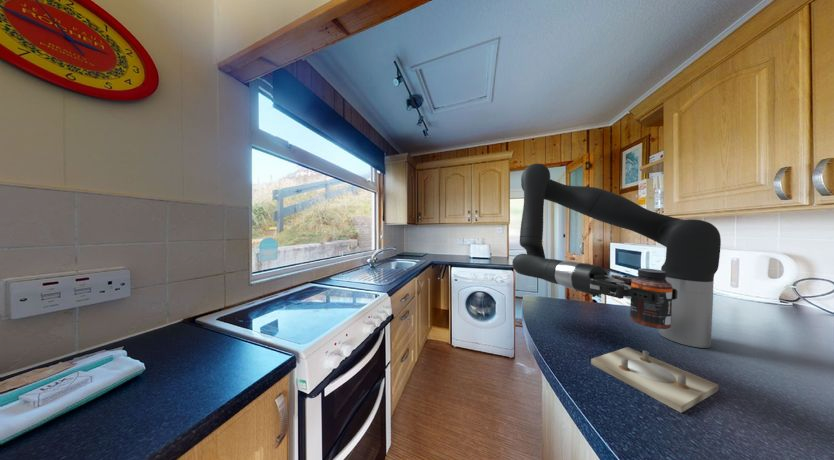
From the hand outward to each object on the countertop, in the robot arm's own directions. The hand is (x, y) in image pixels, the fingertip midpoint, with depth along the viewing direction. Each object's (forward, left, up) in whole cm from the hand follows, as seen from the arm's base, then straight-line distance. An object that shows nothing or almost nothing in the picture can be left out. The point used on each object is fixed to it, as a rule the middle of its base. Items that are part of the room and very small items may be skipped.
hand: (667, 296), depth 44 cm
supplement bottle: (0, -3, -7) cm, 7 cm away
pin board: (0, -2, -18) cm, 18 cm away
